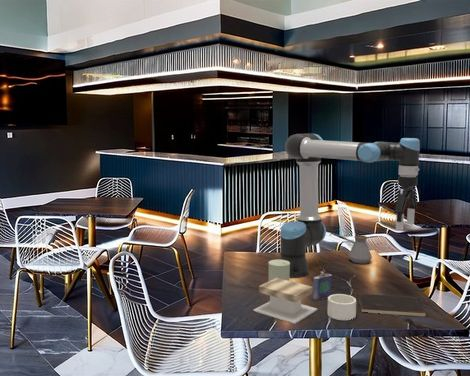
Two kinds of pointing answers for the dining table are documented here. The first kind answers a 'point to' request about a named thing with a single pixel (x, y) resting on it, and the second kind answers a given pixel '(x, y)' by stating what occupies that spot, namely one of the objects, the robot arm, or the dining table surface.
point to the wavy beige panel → (286, 289)
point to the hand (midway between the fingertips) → (404, 226)
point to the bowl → (341, 307)
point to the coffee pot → (358, 249)
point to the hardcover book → (391, 305)
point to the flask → (322, 286)
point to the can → (279, 269)
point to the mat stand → (285, 310)
